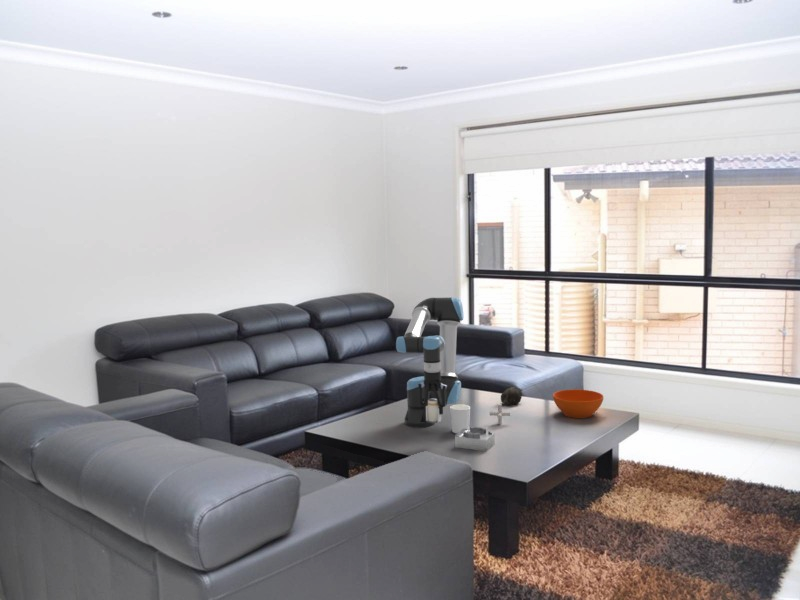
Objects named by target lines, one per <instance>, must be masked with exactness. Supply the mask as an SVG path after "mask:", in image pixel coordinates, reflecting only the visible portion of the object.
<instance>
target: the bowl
mask: <svg viewBox="0 0 800 600" xmlns="http://www.w3.org/2000/svg"><path fill="white" fill-rule="evenodd" d="M552 398H553V401H554V404H555V405H556V407H557V408H558V410H560V411H561V412H562V413H563V414H564V416H565V417H570V418H574V419H585V418H590V417H592V416H593V415H594V414H595V413H596V412H597V411H599V408H600V407H601V405H602V403H603V402H604V394H602V393H600V392H597V391H595V390H594V391H593V390H588V389H577V388H576V389H564V390H558V391H555V392H554V393H553V394H552Z"/></svg>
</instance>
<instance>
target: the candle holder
mask: <svg viewBox="0 0 800 600" xmlns="http://www.w3.org/2000/svg"><path fill="white" fill-rule="evenodd" d="M449 411H450V412H449V413H450V424H451V432H452V433H453V434H457V433H458V432H460V431H461V430H462V429H464V428H465V429H468V430H470V423H471V422H470V421H471V420H470V419H471V415H470V414H471V406H470V405H468V404H464V403H461V404H460V403H459V404H458V403H456V404H451V405H450V406H449Z"/></svg>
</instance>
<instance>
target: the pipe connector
mask: <svg viewBox="0 0 800 600" xmlns="http://www.w3.org/2000/svg"><path fill="white" fill-rule="evenodd" d="M502 405H503V403H497V411H489V416H497V423H498V424H497V425H502V424H503V417H507V416H508V417H510V416H511V412H510V411H503V409H502V408H503V407H502Z"/></svg>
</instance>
